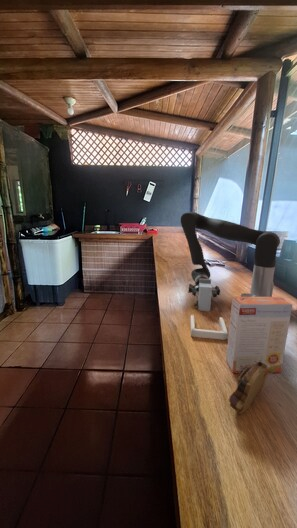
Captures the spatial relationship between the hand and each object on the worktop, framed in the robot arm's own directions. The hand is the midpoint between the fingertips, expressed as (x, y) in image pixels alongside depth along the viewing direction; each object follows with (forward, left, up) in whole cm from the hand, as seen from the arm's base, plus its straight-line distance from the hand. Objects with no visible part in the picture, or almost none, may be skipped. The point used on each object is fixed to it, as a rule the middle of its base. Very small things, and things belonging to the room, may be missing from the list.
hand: (204, 295), depth 104 cm
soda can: (-15, +12, -7) cm, 20 cm away
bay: (0, +18, -7) cm, 20 cm away
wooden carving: (-6, +51, -7) cm, 52 cm away
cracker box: (-11, +38, -7) cm, 40 cm away
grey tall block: (0, -2, -7) cm, 7 cm away
